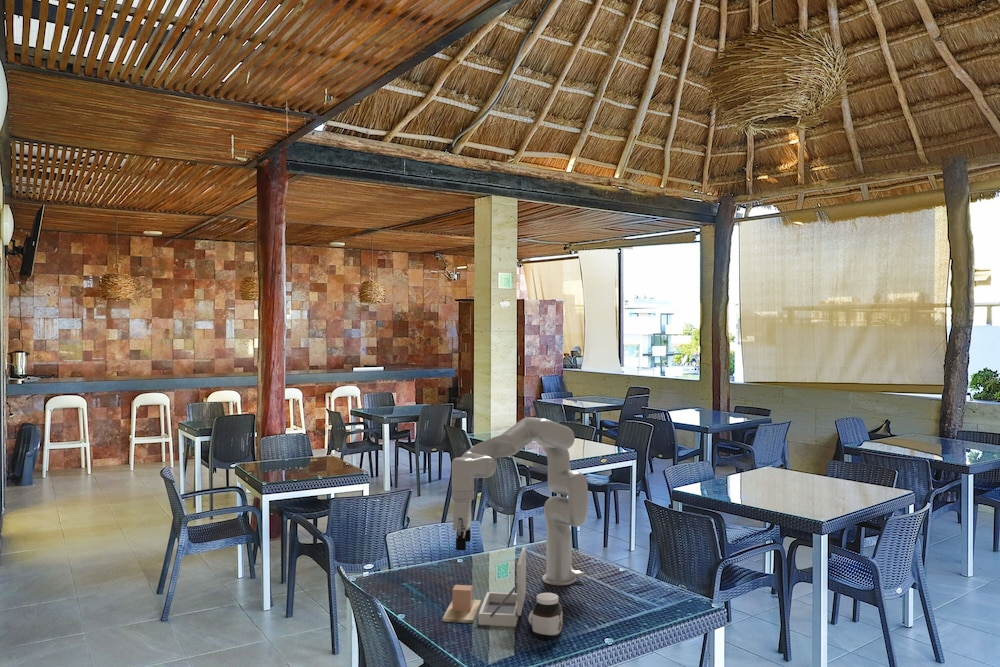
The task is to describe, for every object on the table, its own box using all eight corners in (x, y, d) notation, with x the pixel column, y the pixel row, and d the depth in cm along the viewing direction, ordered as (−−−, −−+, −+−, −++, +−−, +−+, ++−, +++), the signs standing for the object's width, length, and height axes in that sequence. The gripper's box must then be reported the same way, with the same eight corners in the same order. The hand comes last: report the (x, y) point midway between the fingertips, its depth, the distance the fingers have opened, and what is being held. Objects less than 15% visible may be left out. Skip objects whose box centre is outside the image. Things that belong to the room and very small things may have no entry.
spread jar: (550, 642, 212) (550, 603, 212) (518, 634, 218) (518, 596, 218) (568, 629, 222) (568, 592, 222) (537, 621, 228) (537, 585, 228)
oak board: (481, 602, 245) (481, 599, 245) (472, 623, 227) (472, 619, 227) (452, 601, 246) (452, 598, 246) (442, 621, 228) (442, 618, 228)
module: (472, 606, 239) (472, 585, 239) (470, 611, 234) (470, 590, 234) (455, 605, 239) (455, 584, 240) (452, 610, 234) (452, 589, 235)
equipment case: (525, 603, 244) (525, 547, 244) (520, 627, 223) (520, 565, 223) (487, 602, 245) (487, 545, 246) (478, 625, 225) (478, 564, 225)
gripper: (456, 489, 246) (456, 538, 246) (447, 500, 229) (447, 553, 229) (477, 489, 245) (478, 538, 245) (469, 500, 228) (470, 553, 228)
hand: (463, 545), depth 237 cm, fingers open, 9 cm apart
